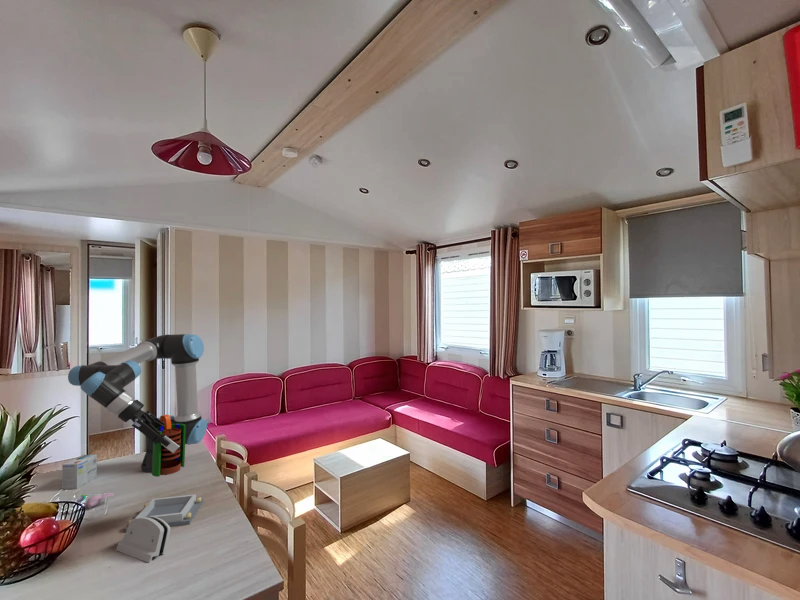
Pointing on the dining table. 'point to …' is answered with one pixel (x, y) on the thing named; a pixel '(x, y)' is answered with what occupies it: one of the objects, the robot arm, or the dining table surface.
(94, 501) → the rabbit figure
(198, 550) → the dining table surface
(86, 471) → the light bulb box
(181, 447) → the motor
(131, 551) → the grey arched block
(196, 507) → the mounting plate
